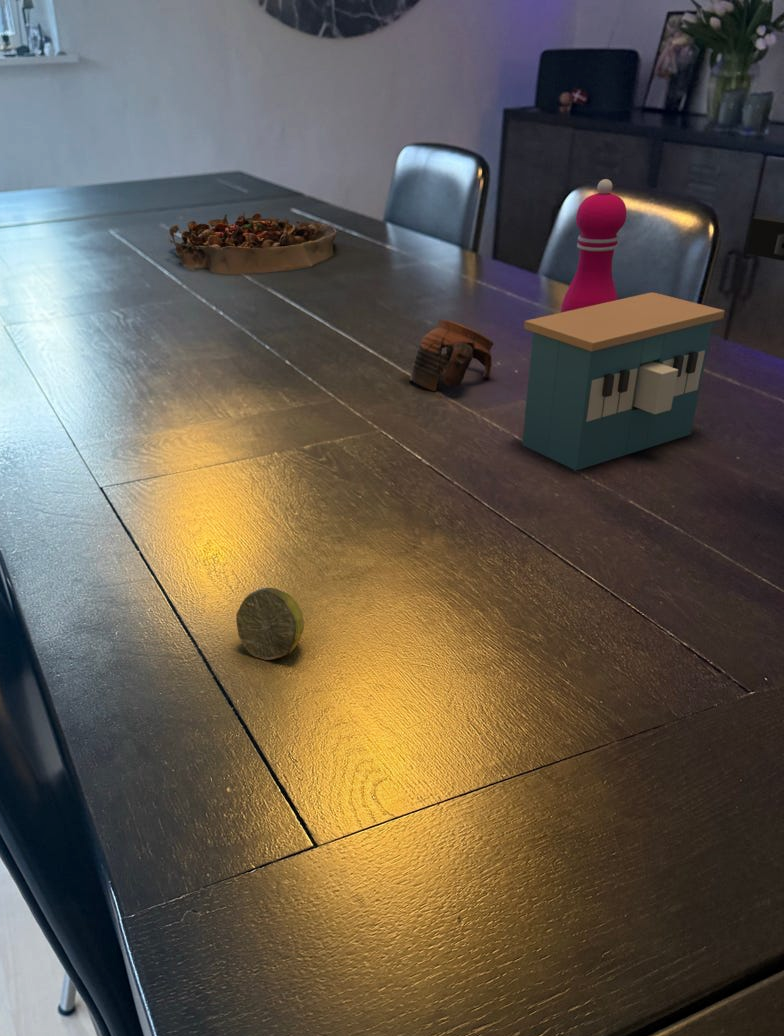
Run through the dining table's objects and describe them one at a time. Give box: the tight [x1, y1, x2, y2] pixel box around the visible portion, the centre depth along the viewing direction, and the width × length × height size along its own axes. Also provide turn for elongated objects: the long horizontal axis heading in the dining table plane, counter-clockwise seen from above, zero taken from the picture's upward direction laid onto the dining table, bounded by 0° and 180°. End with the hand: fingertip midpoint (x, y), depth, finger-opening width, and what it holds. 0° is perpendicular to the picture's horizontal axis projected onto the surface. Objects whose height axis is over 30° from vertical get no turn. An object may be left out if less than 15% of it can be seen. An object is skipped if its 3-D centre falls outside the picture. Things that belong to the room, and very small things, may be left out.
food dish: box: [165, 212, 338, 275], centre depth 179 cm, size 35×33×8 cm
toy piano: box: [521, 291, 725, 471], centre depth 94 cm, size 9×17×13 cm, turn 120°
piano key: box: [633, 361, 678, 414], centre depth 90 cm, size 4×2×4 cm, turn 30°
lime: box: [235, 587, 305, 661], centre depth 66 cm, size 4×5×5 cm
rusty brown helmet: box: [409, 319, 494, 392], centre depth 112 cm, size 12×10×8 cm
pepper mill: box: [560, 178, 627, 313], centre depth 119 cm, size 7×7×20 cm
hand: (754, 234), depth 76 cm, fingers closed
